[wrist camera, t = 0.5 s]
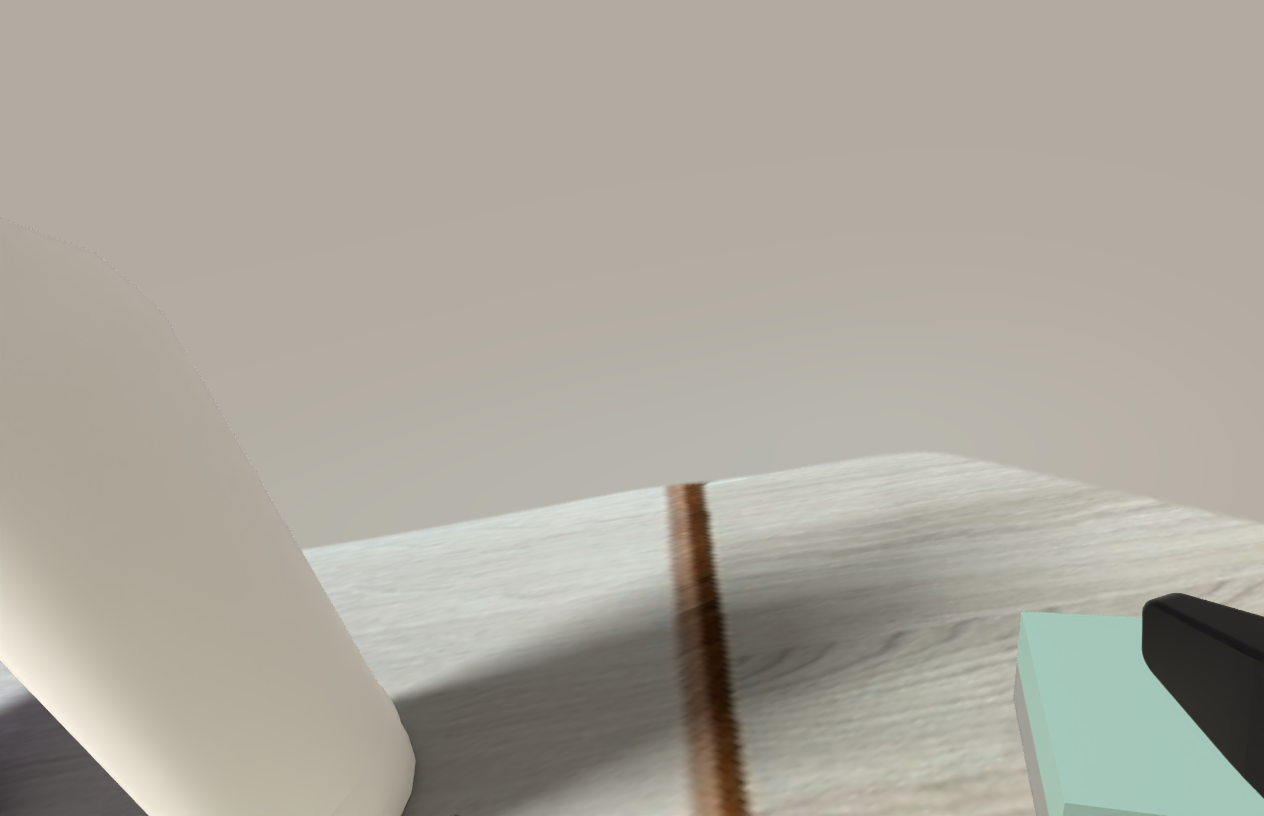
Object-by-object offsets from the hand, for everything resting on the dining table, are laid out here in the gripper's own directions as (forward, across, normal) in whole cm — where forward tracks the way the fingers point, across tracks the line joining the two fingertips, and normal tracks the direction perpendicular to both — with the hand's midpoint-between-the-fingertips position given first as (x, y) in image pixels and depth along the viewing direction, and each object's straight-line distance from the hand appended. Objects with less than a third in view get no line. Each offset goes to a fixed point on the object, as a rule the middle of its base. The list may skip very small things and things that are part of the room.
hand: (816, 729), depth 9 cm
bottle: (+16, +16, +14) cm, 27 cm away
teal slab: (+8, -12, +13) cm, 19 cm away
